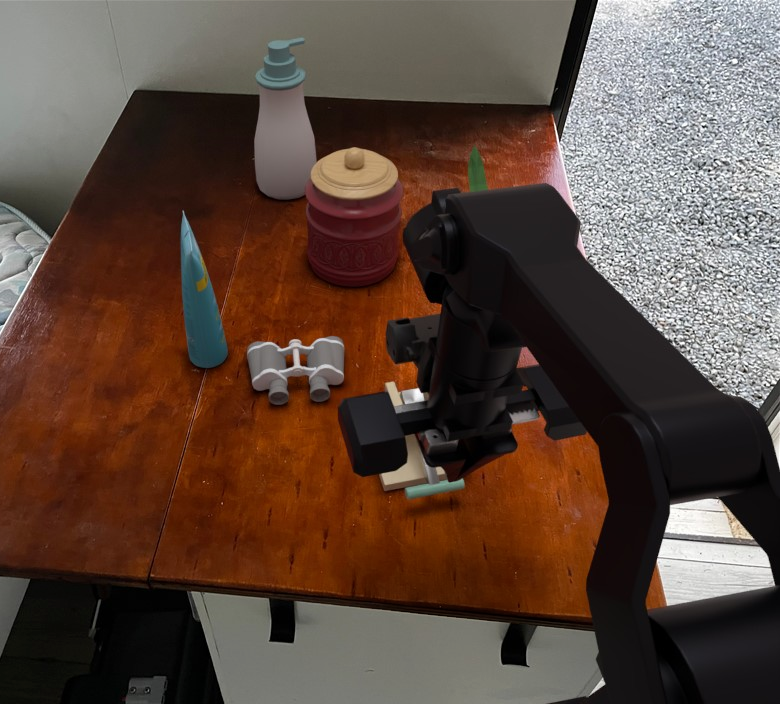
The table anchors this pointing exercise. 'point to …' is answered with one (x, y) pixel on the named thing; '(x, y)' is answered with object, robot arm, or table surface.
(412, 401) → the lever
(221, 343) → the tube
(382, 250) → the kitchen canister
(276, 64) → the soap bottle
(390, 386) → the toaster bracket
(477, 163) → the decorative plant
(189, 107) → the table surface
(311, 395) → the binoculars
